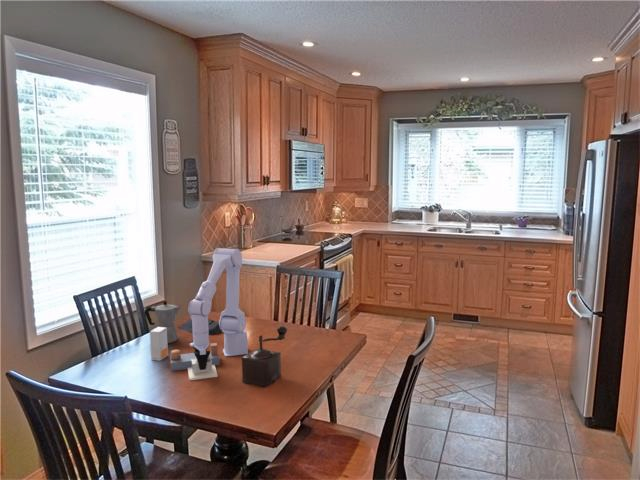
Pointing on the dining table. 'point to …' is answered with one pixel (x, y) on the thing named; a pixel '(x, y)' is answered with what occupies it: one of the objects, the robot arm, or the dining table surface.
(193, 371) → the lever cap
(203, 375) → the tile
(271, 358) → the manual coffee grinder
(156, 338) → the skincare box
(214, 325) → the dark slate chunk
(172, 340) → the coffeepot
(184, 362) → the plane body
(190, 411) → the dining table surface
